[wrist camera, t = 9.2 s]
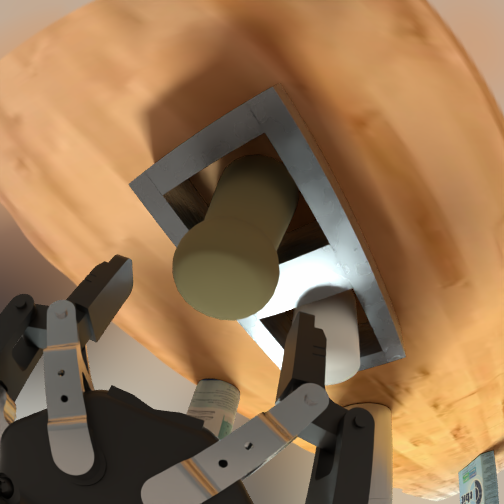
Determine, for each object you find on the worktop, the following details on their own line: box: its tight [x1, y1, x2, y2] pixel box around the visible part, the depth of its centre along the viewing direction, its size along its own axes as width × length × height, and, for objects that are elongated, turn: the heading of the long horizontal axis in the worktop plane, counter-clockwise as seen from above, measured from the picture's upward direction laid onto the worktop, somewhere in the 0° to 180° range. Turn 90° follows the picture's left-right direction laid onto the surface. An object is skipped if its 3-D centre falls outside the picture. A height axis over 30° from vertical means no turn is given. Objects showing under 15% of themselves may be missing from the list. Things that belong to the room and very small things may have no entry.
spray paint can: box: [186, 379, 240, 440], centre depth 32 cm, size 6×6×20 cm
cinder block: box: [129, 84, 406, 371], centre depth 23 cm, size 24×11×4 cm, turn 33°
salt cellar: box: [292, 289, 360, 385], centre depth 24 cm, size 6×6×7 cm
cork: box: [173, 155, 299, 320], centre depth 18 cm, size 6×6×11 cm
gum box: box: [458, 450, 499, 504], centre depth 43 cm, size 20×5×23 cm, turn 14°
